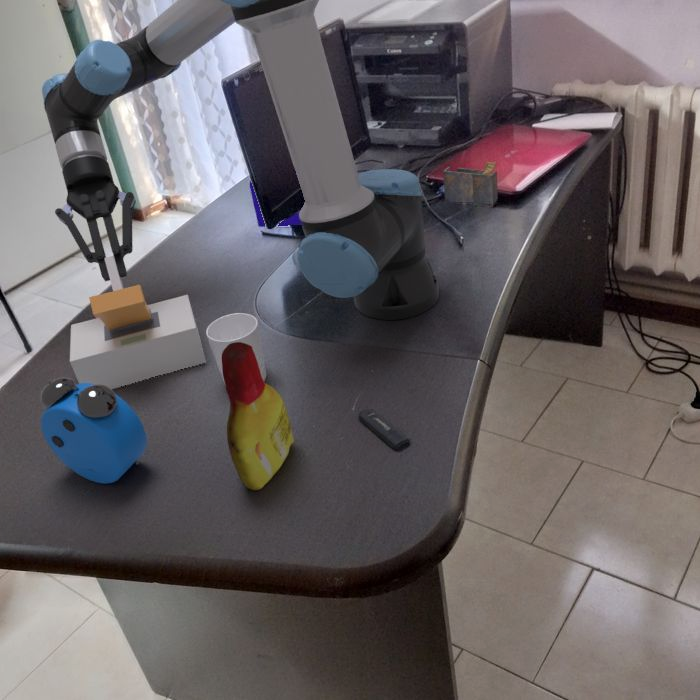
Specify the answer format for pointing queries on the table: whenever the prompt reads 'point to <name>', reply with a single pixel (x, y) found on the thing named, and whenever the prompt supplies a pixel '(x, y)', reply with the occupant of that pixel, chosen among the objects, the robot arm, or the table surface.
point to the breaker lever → (121, 307)
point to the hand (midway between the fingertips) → (120, 296)
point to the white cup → (236, 337)
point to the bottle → (254, 418)
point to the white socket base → (137, 346)
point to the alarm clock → (91, 429)
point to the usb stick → (383, 429)
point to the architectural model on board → (471, 185)
